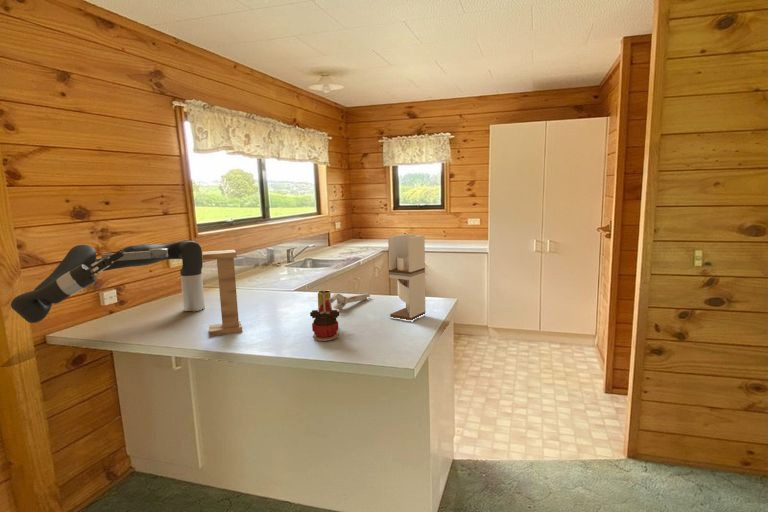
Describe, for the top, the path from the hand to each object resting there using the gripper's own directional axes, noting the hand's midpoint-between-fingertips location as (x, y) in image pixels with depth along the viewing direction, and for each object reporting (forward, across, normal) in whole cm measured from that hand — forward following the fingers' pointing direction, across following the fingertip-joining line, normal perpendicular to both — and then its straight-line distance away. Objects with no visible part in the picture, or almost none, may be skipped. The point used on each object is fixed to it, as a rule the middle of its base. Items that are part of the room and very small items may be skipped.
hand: (122, 252), depth 156 cm
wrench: (+61, -14, -75) cm, 98 cm away
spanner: (+2, 0, -4) cm, 4 cm away
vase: (+44, +12, -65) cm, 79 cm away
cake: (+40, +27, -63) cm, 80 cm away
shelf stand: (+11, 0, -46) cm, 47 cm away
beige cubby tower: (+74, +17, -83) cm, 112 cm away
